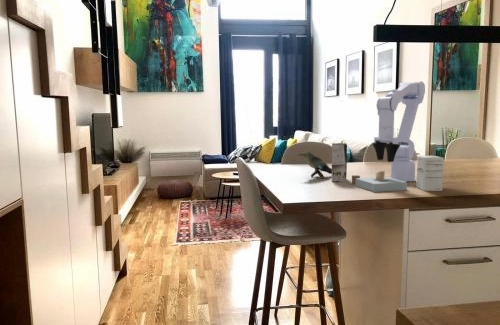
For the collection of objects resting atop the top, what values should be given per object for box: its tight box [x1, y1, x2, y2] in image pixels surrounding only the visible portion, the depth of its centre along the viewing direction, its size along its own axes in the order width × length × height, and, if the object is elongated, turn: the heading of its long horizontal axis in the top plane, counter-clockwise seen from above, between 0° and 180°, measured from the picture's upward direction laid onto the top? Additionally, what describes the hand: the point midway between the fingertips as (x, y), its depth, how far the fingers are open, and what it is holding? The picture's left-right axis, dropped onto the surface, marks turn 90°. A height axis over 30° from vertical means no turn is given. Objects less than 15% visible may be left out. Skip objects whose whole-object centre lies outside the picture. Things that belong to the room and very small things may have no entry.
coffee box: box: [331, 142, 348, 183], centre depth 183 cm, size 9×6×16 cm
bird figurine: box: [298, 150, 332, 179], centre depth 192 cm, size 13×10×20 cm
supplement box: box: [415, 155, 445, 192], centre depth 160 cm, size 7×7×13 cm
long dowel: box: [375, 170, 386, 181], centre depth 164 cm, size 3×3×6 cm
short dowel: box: [351, 174, 361, 185], centre depth 173 cm, size 3×3×4 cm
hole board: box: [354, 176, 408, 193], centre depth 164 cm, size 14×14×3 cm
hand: (385, 160), depth 169 cm, fingers open, 7 cm apart
